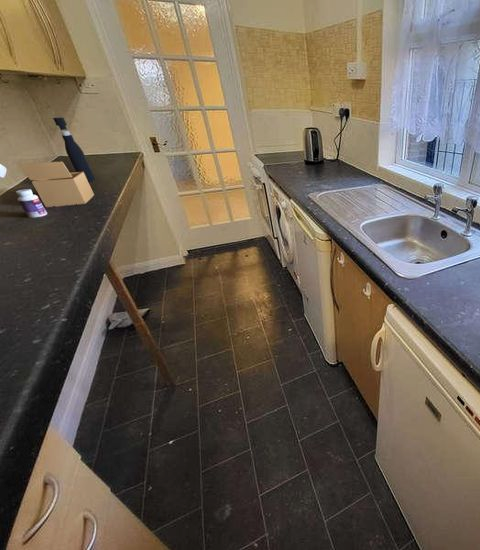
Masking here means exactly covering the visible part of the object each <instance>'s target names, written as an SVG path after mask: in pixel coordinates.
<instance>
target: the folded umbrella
mask: <svg viewBox="0 0 480 550" xmlns="http://www.w3.org/2000/svg"><path fill="white" fill-rule="evenodd" d="M53 121H54V124H56V125H55V126H58V128H59V130H60V134H61V137H62V139H63V141H64V149H65V152H66V154H67V156H68V159H69V161H70V162H71V165H72V167H73V168H74V170H75V172H84V174H85V176H86V178H87V180H88V181H90V182H94V181H96V180H97V178H96V176H95V174H94V172H93V170H92V167H91V166H90V164H89V162H88V160H87V157H86V154H85V153H84V151H83V149H82V148H81V147H80V145H79V143H77V142H76V141H75V139H74V137H73V135H72V134H71V132H70V131H69V130H68V128H67V126H68V124H67V122H66V120H65V118H64V117H53Z"/></svg>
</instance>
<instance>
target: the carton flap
mask: <svg viewBox="0 0 480 550" xmlns="http://www.w3.org/2000/svg"><path fill="white" fill-rule="evenodd" d="M17 165H18V167H19V168H20V169H21V170H22V171H23V173H24V175H26V176H27V178H28V179H29V181H34V180H42V179H56V178H71V177H72V176H71V174H70V173H71V172H70V171H69V169H68V168H67V167H66V165H65V163H64V162H63V161H46V162H45V161H44V162H28V163H27V162H25V163H18V164H17Z"/></svg>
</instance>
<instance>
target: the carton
mask: <svg viewBox="0 0 480 550" xmlns="http://www.w3.org/2000/svg"><path fill="white" fill-rule="evenodd" d="M70 174H71V176H72V177H71V178H56V179H42V180H31V184H32V185H33V187H34V189H35V190H36V192H37V193H38V197H39V199H41V202H42V204H43V206H45V208H52V207H53V206H55V207H64V206H65V207H66V205H67V206H75V205H76V204H77V205H85V204H87V203H88V202H89V201H90V200H91V199H92V198H93V197H94V196H95V193H94V191H93V189H92V187H91V185H90V182H88V180H87V178H86V176H85V174H84V172H76V171H75V172H70Z"/></svg>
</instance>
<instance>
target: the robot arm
mask: <svg viewBox="0 0 480 550" xmlns="http://www.w3.org/2000/svg"><path fill="white" fill-rule="evenodd" d="M7 170H8V169H7V168H6V166H5V165H3V164H1V163H0V179H4V178H5V177H6V175H7Z"/></svg>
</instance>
